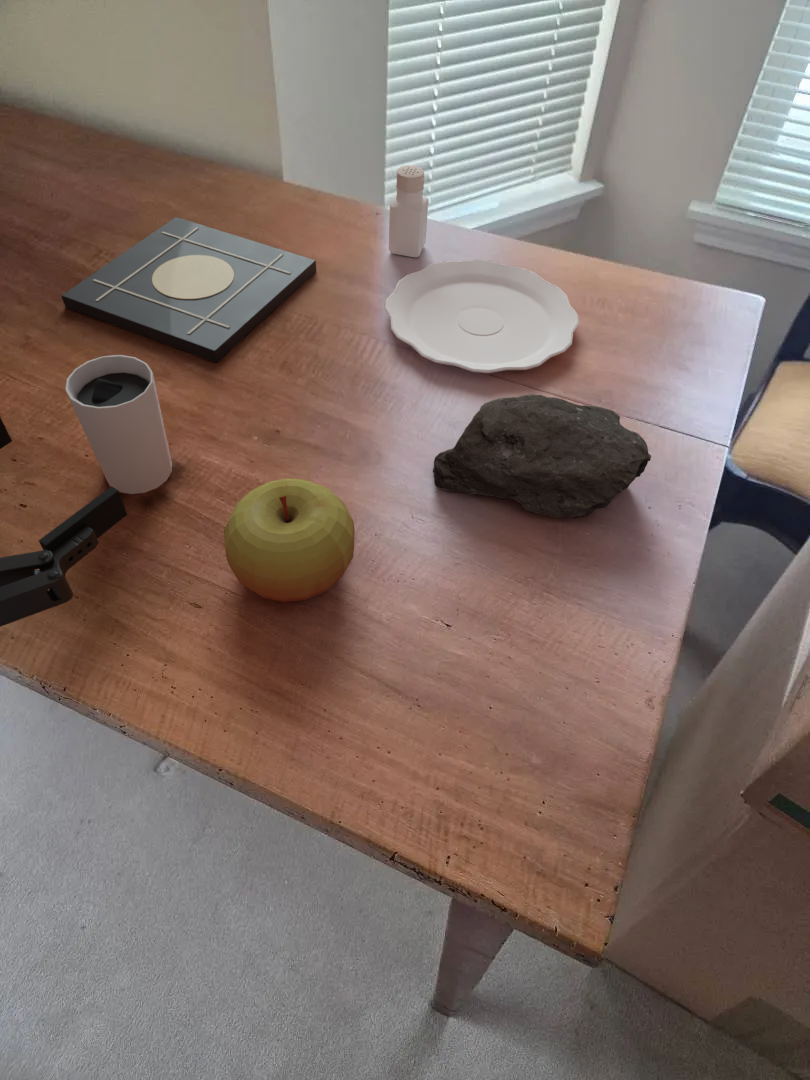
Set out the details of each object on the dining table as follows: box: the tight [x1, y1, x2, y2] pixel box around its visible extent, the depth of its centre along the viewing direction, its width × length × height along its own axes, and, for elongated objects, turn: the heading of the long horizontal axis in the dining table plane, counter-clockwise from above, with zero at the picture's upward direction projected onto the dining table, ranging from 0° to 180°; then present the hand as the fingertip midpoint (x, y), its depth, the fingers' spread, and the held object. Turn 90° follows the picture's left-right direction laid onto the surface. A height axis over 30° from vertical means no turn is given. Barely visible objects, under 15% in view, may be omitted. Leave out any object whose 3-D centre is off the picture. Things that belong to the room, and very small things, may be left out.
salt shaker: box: [388, 164, 429, 258], centre depth 89 cm, size 4×4×10 cm
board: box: [61, 216, 317, 364], centre depth 85 cm, size 20×20×2 cm
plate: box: [384, 258, 580, 374], centre depth 83 cm, size 21×21×2 cm
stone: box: [432, 394, 652, 518], centre depth 65 cm, size 18×9×10 cm
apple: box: [223, 478, 356, 603], centre depth 57 cm, size 10×10×8 cm
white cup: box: [65, 354, 173, 495], centre depth 63 cm, size 7×7×10 cm
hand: (59, 462), depth 59 cm, fingers open, 13 cm apart
